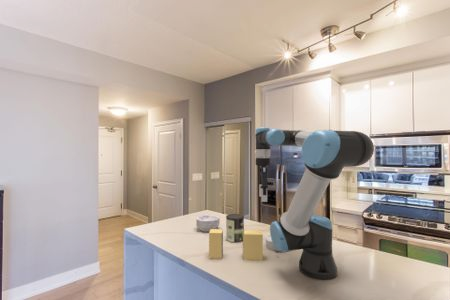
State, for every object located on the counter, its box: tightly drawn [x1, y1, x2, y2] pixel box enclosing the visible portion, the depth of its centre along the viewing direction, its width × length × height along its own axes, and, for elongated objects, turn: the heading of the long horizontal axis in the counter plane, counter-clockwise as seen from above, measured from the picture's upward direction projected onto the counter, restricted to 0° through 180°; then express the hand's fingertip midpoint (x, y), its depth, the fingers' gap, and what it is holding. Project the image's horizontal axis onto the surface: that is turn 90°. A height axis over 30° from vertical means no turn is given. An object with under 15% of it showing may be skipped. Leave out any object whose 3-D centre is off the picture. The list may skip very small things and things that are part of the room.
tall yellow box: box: [242, 229, 264, 261], centre depth 110 cm, size 9×6×12 cm, turn 86°
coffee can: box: [225, 213, 245, 244], centre depth 133 cm, size 10×10×14 cm
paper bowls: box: [195, 214, 220, 233], centre depth 153 cm, size 15×15×8 cm
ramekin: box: [264, 234, 281, 253], centre depth 123 cm, size 11×11×5 cm
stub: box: [208, 228, 224, 260], centre depth 111 cm, size 6×6×12 cm
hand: (263, 198), depth 119 cm, fingers open, 13 cm apart
